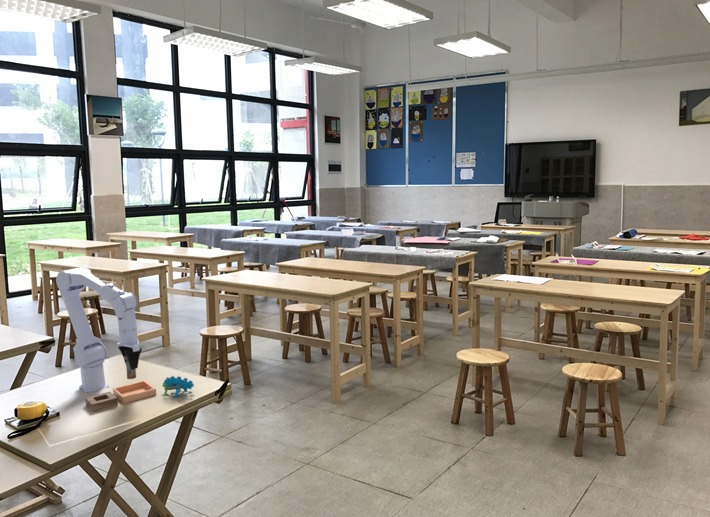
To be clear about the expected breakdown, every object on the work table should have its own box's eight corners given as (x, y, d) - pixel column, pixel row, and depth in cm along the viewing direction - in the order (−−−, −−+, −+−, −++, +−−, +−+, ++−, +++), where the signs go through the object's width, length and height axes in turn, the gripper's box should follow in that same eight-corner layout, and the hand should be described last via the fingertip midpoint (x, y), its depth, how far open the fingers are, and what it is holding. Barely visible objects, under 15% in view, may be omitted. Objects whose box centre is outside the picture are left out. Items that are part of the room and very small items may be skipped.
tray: (113, 395, 211) (112, 388, 211) (145, 387, 218) (144, 380, 218) (123, 404, 203) (122, 397, 202) (156, 395, 209) (155, 388, 209)
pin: (123, 377, 209) (121, 355, 208) (135, 374, 212) (134, 353, 211) (127, 380, 206) (126, 358, 205) (140, 378, 209) (139, 355, 208)
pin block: (86, 406, 203) (85, 397, 202) (111, 399, 207) (110, 391, 207) (93, 413, 196) (91, 404, 196) (118, 406, 201) (117, 397, 201)
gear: (199, 385, 213) (184, 373, 205) (196, 401, 209) (181, 389, 202) (172, 387, 216) (156, 376, 208) (168, 403, 212) (152, 392, 205)
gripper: (109, 327, 210) (113, 364, 212) (122, 335, 198) (126, 375, 201) (129, 323, 214) (133, 360, 216) (143, 331, 203) (148, 369, 205)
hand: (131, 367), depth 209 cm, fingers closed on pin, 4 cm apart
